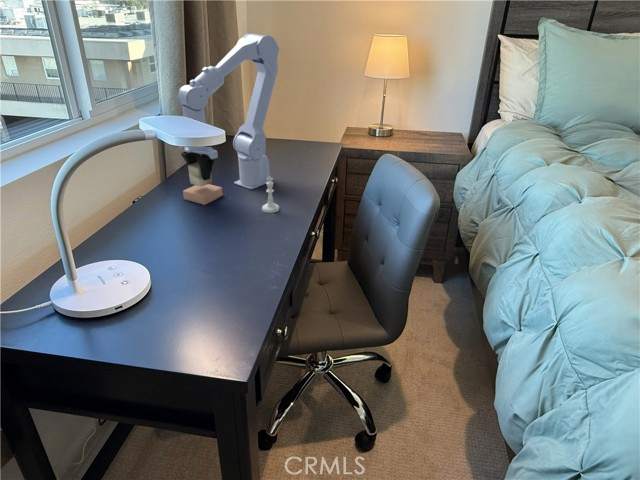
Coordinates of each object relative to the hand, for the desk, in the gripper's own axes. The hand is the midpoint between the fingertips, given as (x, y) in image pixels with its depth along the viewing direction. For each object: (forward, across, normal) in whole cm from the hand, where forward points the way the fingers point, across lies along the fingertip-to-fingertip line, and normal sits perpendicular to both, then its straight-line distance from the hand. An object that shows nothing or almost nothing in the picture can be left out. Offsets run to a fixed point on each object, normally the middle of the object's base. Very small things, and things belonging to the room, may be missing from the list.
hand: (201, 177), depth 130 cm
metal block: (+2, 0, 0) cm, 2 cm away
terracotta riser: (+7, 0, 0) cm, 7 cm away
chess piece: (+7, +21, +7) cm, 23 cm away
